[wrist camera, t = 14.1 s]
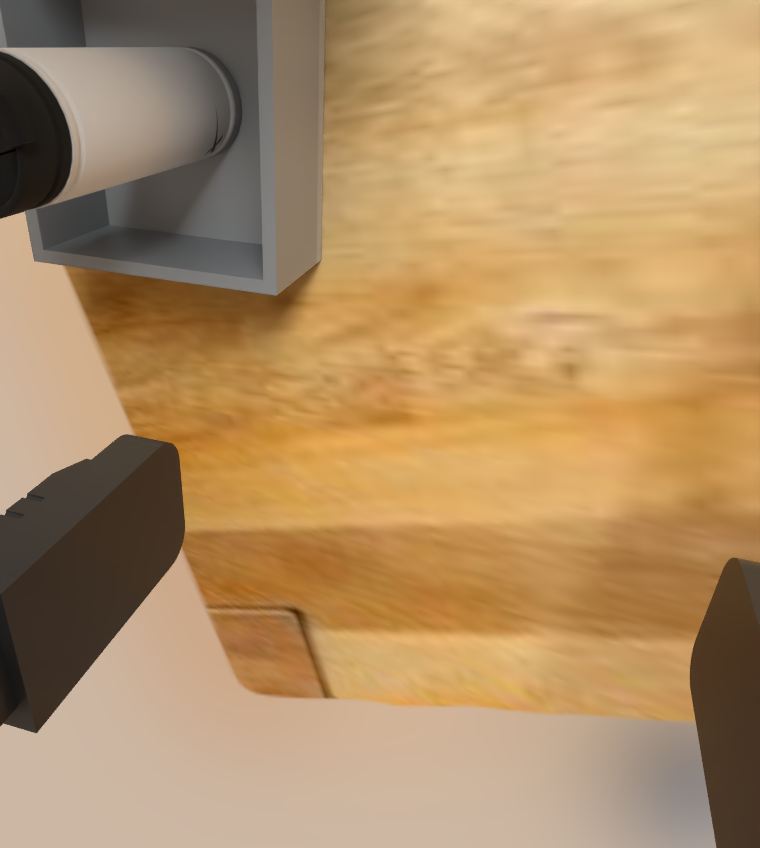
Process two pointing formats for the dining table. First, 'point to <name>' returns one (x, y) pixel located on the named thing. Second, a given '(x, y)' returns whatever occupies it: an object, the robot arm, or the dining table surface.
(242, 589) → the dining table surface
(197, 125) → the travel mug
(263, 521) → the dining table surface
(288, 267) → the crate
